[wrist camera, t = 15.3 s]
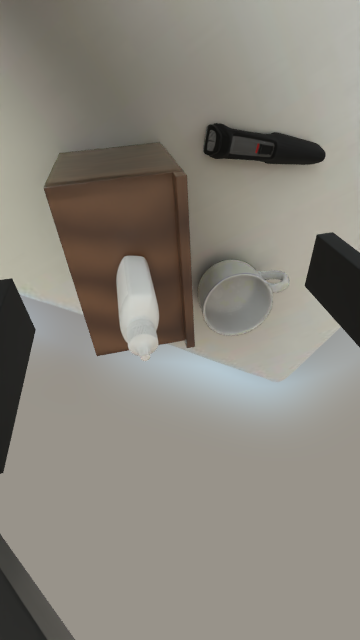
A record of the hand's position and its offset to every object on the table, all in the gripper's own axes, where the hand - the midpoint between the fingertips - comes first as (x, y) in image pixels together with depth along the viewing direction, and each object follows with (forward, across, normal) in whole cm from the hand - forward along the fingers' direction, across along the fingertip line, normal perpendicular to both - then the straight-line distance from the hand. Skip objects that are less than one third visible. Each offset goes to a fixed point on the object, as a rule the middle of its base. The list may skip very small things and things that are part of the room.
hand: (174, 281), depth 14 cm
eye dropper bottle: (+18, -2, -10) cm, 20 cm away
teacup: (+31, +14, -22) cm, 41 cm away
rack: (+31, -2, -11) cm, 33 cm away
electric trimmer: (+32, +17, -2) cm, 36 cm away
